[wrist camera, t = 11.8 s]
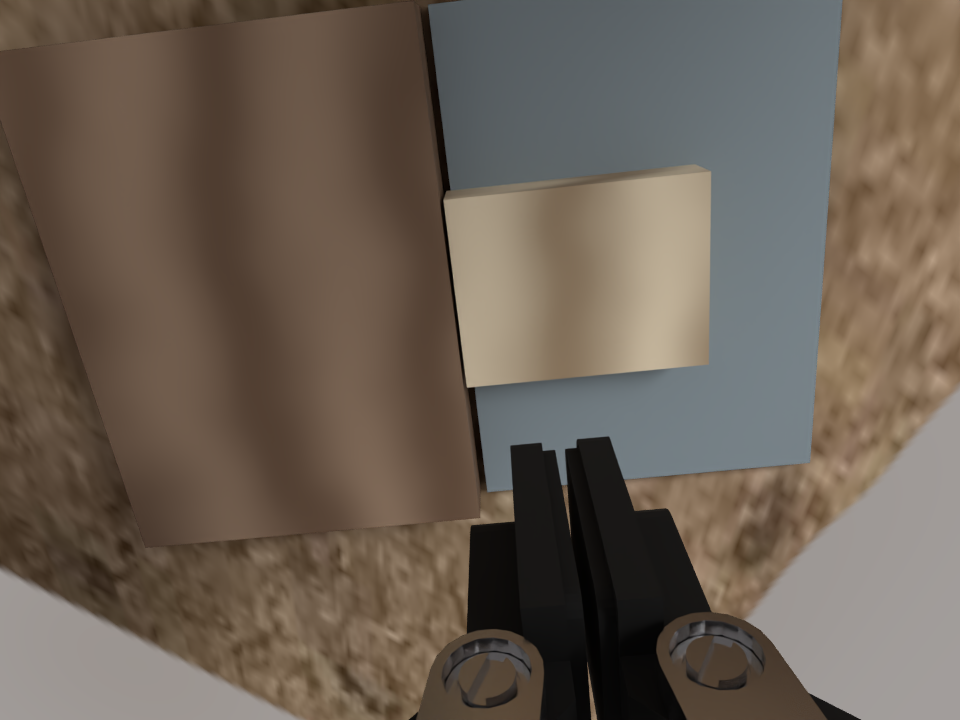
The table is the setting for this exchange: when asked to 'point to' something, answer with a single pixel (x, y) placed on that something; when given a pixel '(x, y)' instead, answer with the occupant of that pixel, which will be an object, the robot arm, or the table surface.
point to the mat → (658, 144)
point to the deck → (255, 268)
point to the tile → (582, 274)
